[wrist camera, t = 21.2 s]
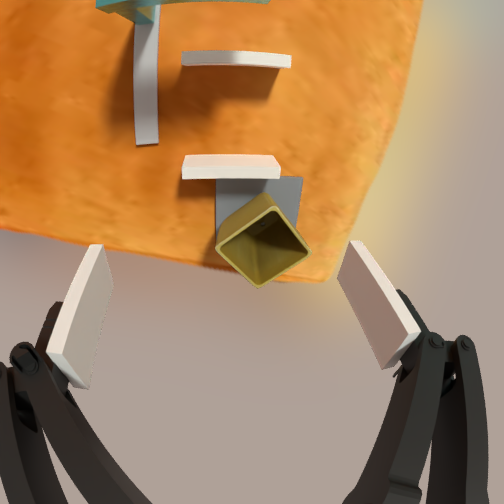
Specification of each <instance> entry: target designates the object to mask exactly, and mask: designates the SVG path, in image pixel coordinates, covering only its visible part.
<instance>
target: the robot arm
mask: <svg viewBox="0 0 504 504" xmlns="http://www.w3.org/2000/svg"><path fill="white" fill-rule="evenodd" d="M337 279H338V281H339V283H340V285H341V287H342V289H343V291H344V293H345V294H346V297H347V298H348V300H349V302H350V304H351V306H352V308H353V310H354V312H355V314H356V316H357V318H358V320H359V322H360V324H361V327H362V329H363V331H364V333H365V335H366V337H367V339H368V341H369V343H370V345H371V347H372V350H373V352H374V354H375V356H376V358H377V360H378V362H379V365H380V367H381V369H382V370H383V369H386V368H390V367H394V366H395V365H396V363H397V362H398V361H399V360H400V361H401V363H402V365H401V366H400V368H399V369H398V370H397V371H396V372H395V373H394V375H393V377H395V376H396V375H397V374H398V376H397V379H396V383H395V387H394V390H393V393H392V397H391V400H390V403H389V406H388V409H387V412H386V416H385V418H384V421H383V424H382V426H381V429H380V432H379V435H378V437H377V440H376V442H375V445H374V447H373V450H372V452H371V455H370V457H369V459H368V461H367V464H366V466H365V468H364V470H363V473H362V475H361V477H360V479H359V481H358V483H357V485H356V487H355V488H354V489H353V490H352V491H351V492H350V493H349V494H348V496H347V497H346V498H345V500H344V501H343V503H342V504H419V502H420V500H421V496H422V490H421V489H420V488H419V487H418V484H419V480H420V477H421V474H422V471H423V468H424V465H425V461H426V458H427V454H428V451H429V447H430V443H431V440H432V447H431V462H430V463H431V464H430V474H429V482H428V491H427V498H426V504H489V498H488V493H487V482H488V431H487V418H486V408H485V400H484V392H483V385H482V379H481V373H480V368H479V363H478V358H477V353H476V349H475V345H474V343H473V341H472V340H471V339H470V338H469V337H467V336H465V335H460V336H458V338H457V339H456V340H455V341H444V339H443V338H442V337H441V336H440V335H439V334H437V333H434V332H430V331H429V330H428V329H427V327H426V325H425V323H424V322H423V320H422V319H421V317H420V315H419V314H418V312H417V311H416V310H415V308H414V306H413V305H412V303H411V302H410V300H409V298H408V297H407V296H406V295H405V294H404V293H403V292H402V291H401V290H399V289H398V290H395V289H394V287H393V286H392V284H391V283H390V281H389V280H388V278H387V277H386V275H385V274H384V272H383V271H382V269H381V268H380V267H379V265H378V264H377V262H376V261H375V260H374V258H373V257H372V255H371V254H370V253H369V251H368V250H367V248H366V247H365V246H364V244H363V243H362V242H361V241H349V244H348V247H347V250H346V253H345V256H344V259H343V262H342V265H341V268H340V271H339V274H338V277H337ZM113 286H114V282H113V279H112V275H111V272H110V269H109V265H108V261H107V258H106V254H105V250H104V246H103V244H95V245H90V246H89V248H88V250H87V252H86V254H85V257H84V258H83V260H82V262H81V264H80V267H79V269H78V271H77V273H76V275H75V277H74V279H73V282H72V284H71V286H70V288H69V291H68V293H67V296H66V298H65V300H64V302H56V303H55V304H54V305H53V306H52V307H51V308H50V309H49V312H48V314H47V317H46V320H45V322H44V324H43V328H42V329H41V332H40V335H39V337H38V340H37V343H36V346H35V348H34V347H33V345H32V344H30V343H29V342H21V343H19V344H17V345H16V346H15V347H14V348H13V349H12V351H11V353H10V357H9V358H10V363H11V364H12V366H13V367H9V368H7V367H6V366H5V365H4V364H3V363H2V362H0V477H1V480H2V483H3V486H4V490H5V493H6V496H7V499H8V502H9V504H68V502H67V500H66V497H65V495H64V493H63V490H62V488H61V485H60V483H59V481H58V478H57V475H56V472H55V470H54V467H53V464H52V461H51V458H50V454H49V451H48V448H47V445H46V441H45V437H44V434H43V430H44V432H45V434H46V436H47V438H48V440H49V442H50V444H51V446H52V448H53V449H54V451H55V453H56V455H57V457H58V458H59V460H60V462H61V463H62V465H63V467H64V468H65V470H66V472H67V473H68V475H69V476H70V478H71V479H72V481H73V482H74V484H75V485H76V487H77V488H78V490H79V491H80V492H81V494H82V495H83V497H84V498H85V499H86V501H87V502H88V503H89V504H152V503H151V502H150V501H149V500H148V499H147V498H146V497H145V496H144V494H143V493H142V492H141V491H140V490H139V489H138V488H137V487H136V486H135V484H134V483H133V482H132V481H131V480H130V479H129V478H128V476H127V475H126V474H125V473H124V472H123V470H122V469H121V468H120V467H119V465H118V464H117V463H116V462H115V460H114V459H113V458H112V456H111V455H110V454H109V452H108V451H107V450H106V449H105V447H104V445H103V444H102V443H101V441H100V440H99V438H98V437H97V435H96V434H95V432H94V431H93V429H92V428H91V426H90V425H89V423H88V422H87V420H86V418H85V417H84V415H83V414H82V412H81V410H80V409H79V407H78V405H77V403H76V402H75V400H74V398H73V396H72V394H71V393H70V391H69V390H68V389H67V388H68V383H69V382H70V383H71V384H72V385H73V387H76V388H82V389H89V386H90V380H91V375H92V370H93V365H94V360H95V355H96V351H97V346H98V342H99V338H100V334H101V330H102V326H103V322H104V318H105V314H106V310H107V307H108V303H109V300H110V296H111V293H112V290H113ZM454 374H456V379H454V376H453V375H454ZM42 428H43V430H42Z"/></svg>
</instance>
